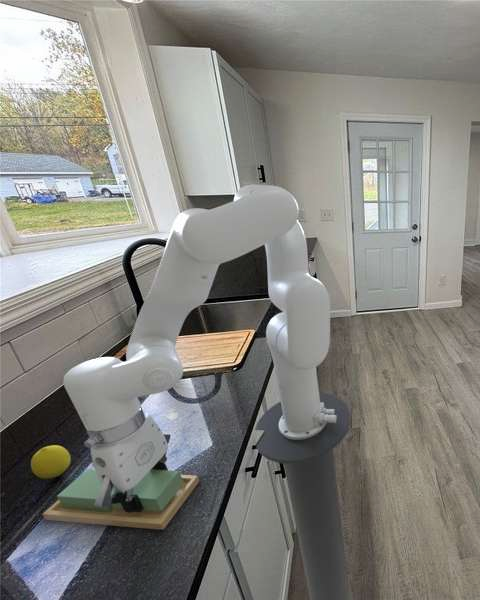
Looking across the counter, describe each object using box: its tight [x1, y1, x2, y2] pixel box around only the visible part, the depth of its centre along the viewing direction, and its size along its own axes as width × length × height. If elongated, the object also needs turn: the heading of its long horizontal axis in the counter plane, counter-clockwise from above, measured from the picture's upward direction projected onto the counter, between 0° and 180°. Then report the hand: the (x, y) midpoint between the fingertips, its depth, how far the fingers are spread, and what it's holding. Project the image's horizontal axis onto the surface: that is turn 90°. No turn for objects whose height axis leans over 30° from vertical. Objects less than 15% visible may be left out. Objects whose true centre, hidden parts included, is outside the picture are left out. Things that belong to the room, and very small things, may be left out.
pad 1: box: [56, 468, 114, 512], centre depth 63 cm, size 10×6×4 cm, turn 85°
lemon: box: [30, 444, 72, 479], centre depth 67 cm, size 6×6×8 cm
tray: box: [42, 468, 200, 531], centre depth 63 cm, size 24×10×2 cm, turn 85°
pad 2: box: [111, 469, 184, 512], centre depth 62 cm, size 10×6×4 cm, turn 85°
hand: (149, 492), depth 63 cm, fingers closed on pad 2, 6 cm apart
